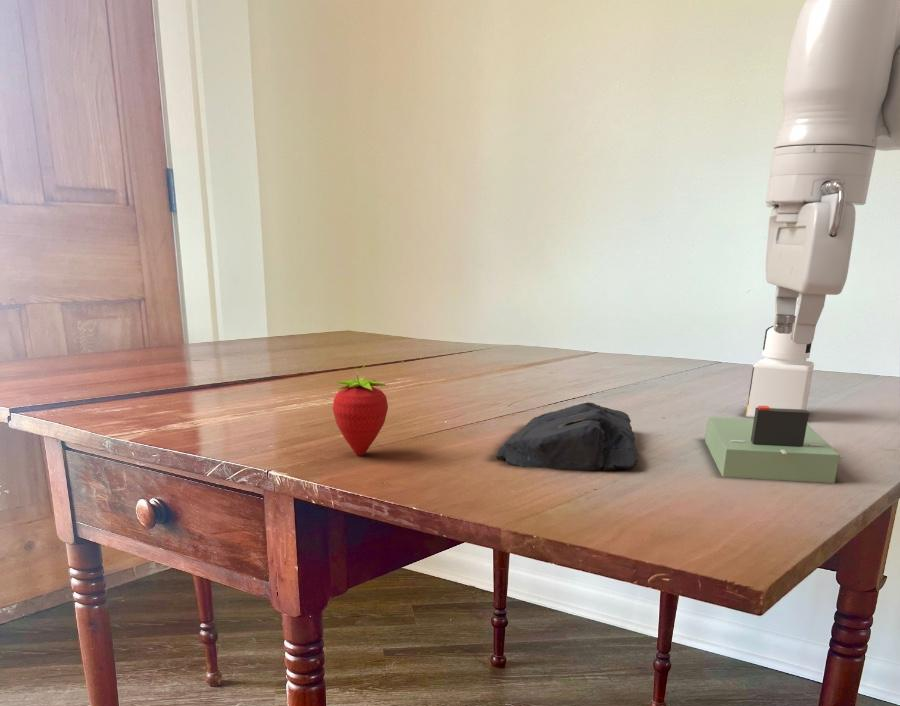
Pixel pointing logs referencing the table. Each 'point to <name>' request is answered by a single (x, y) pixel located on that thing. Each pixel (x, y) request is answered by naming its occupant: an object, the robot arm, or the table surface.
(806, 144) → the robot arm
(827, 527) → the table surface
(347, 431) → the strawberry
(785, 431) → the dark grey block
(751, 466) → the console
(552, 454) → the dark slate chunk
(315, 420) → the table surface
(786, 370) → the medicine bottle
